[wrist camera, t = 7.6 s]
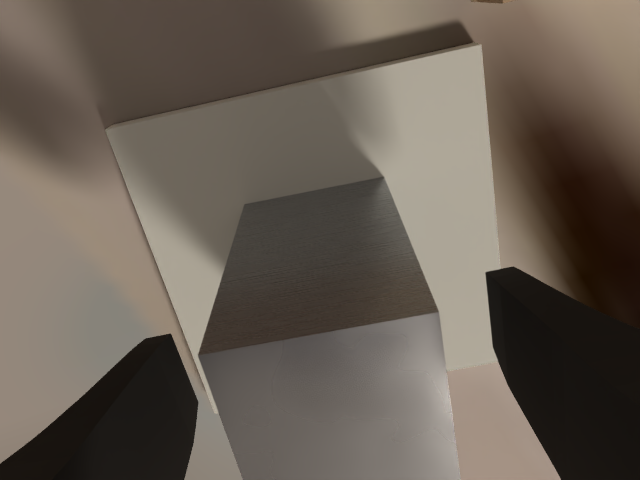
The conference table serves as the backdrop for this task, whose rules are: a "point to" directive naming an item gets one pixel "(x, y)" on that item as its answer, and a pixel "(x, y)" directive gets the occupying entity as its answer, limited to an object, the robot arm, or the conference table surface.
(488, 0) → the holder block
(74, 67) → the conference table surface
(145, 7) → the conference table surface
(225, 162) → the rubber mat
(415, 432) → the key peg
